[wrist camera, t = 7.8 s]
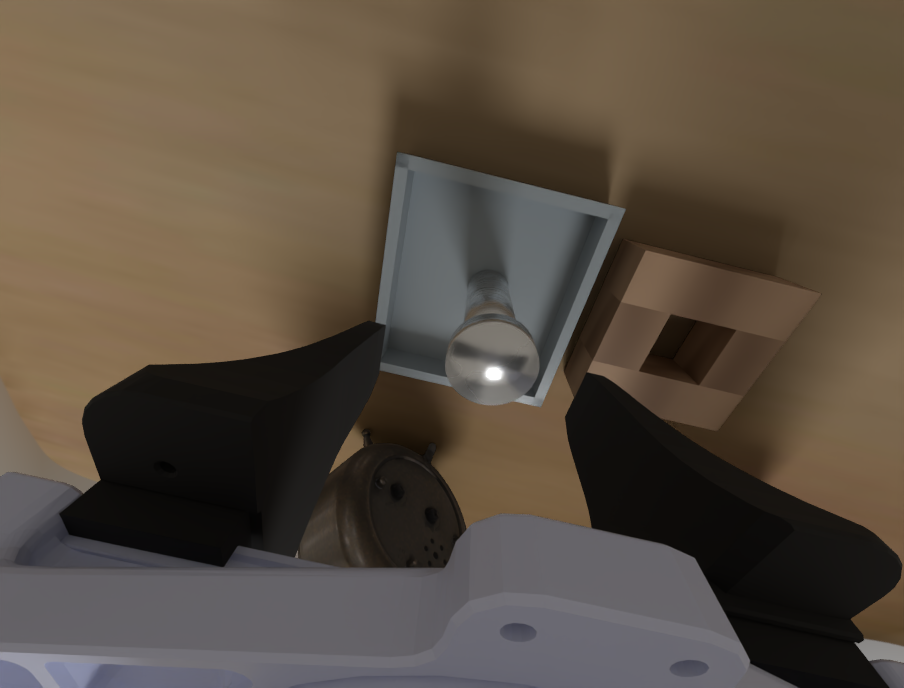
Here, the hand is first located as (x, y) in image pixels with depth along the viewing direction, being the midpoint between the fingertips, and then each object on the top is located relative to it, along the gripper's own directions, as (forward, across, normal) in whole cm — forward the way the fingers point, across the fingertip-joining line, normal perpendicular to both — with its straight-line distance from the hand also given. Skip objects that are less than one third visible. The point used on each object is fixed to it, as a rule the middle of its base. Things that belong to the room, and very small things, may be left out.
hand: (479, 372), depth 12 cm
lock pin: (+9, 0, 0) cm, 9 cm away
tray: (+10, 0, 0) cm, 10 cm away
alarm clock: (+10, +2, +15) cm, 18 cm away
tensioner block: (+10, -11, 0) cm, 15 cm away
